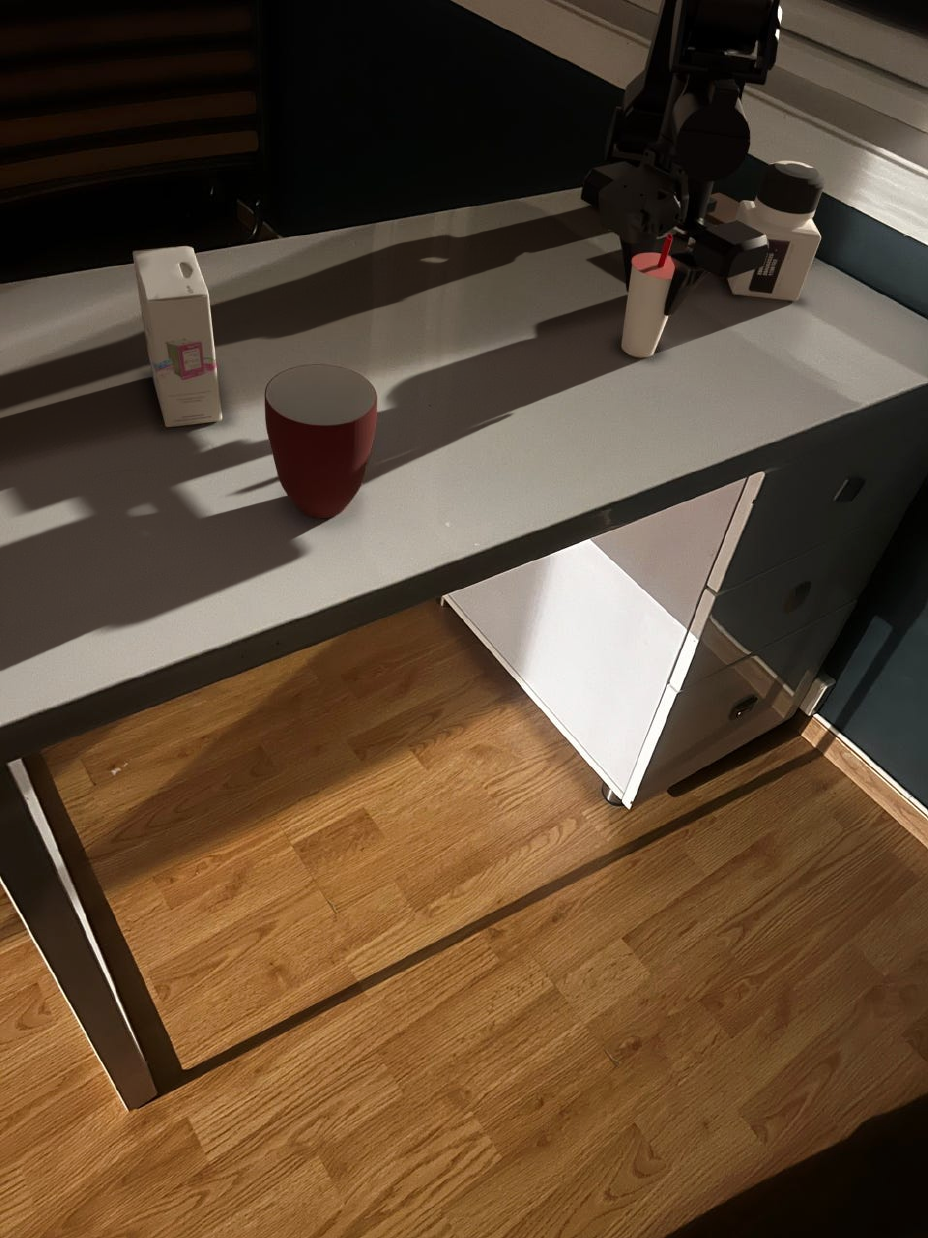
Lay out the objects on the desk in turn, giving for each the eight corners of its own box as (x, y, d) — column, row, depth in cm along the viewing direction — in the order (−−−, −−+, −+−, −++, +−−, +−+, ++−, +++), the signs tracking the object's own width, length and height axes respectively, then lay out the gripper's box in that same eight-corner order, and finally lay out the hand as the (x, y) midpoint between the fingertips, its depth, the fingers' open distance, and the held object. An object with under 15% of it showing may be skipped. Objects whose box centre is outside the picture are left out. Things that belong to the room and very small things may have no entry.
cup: (672, 361, 98) (705, 245, 90) (623, 364, 97) (653, 247, 89) (650, 333, 102) (681, 220, 93) (603, 336, 101) (630, 221, 92)
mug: (227, 484, 77) (217, 374, 70) (303, 445, 82) (302, 338, 75) (318, 551, 73) (317, 440, 66) (393, 505, 78) (400, 398, 71)
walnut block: (675, 233, 120) (684, 201, 118) (710, 223, 124) (719, 192, 121) (715, 255, 117) (725, 222, 114) (749, 244, 120) (760, 212, 118)
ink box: (148, 374, 87) (130, 245, 79) (205, 368, 89) (193, 242, 80) (163, 429, 82) (145, 297, 73) (223, 422, 83) (213, 292, 75)
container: (798, 302, 111) (841, 186, 101) (731, 295, 110) (769, 178, 101) (783, 271, 116) (823, 158, 107) (720, 263, 116) (755, 150, 106)
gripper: (553, 111, 86) (526, 279, 97) (712, 193, 76) (662, 369, 87) (640, 96, 91) (605, 256, 102) (799, 170, 82) (741, 338, 93)
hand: (649, 302), depth 96 cm, fingers closed on cup, 5 cm apart
